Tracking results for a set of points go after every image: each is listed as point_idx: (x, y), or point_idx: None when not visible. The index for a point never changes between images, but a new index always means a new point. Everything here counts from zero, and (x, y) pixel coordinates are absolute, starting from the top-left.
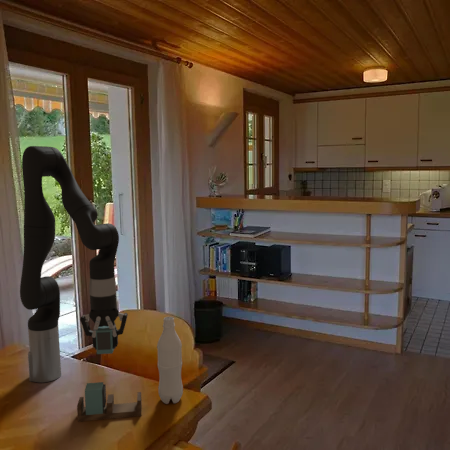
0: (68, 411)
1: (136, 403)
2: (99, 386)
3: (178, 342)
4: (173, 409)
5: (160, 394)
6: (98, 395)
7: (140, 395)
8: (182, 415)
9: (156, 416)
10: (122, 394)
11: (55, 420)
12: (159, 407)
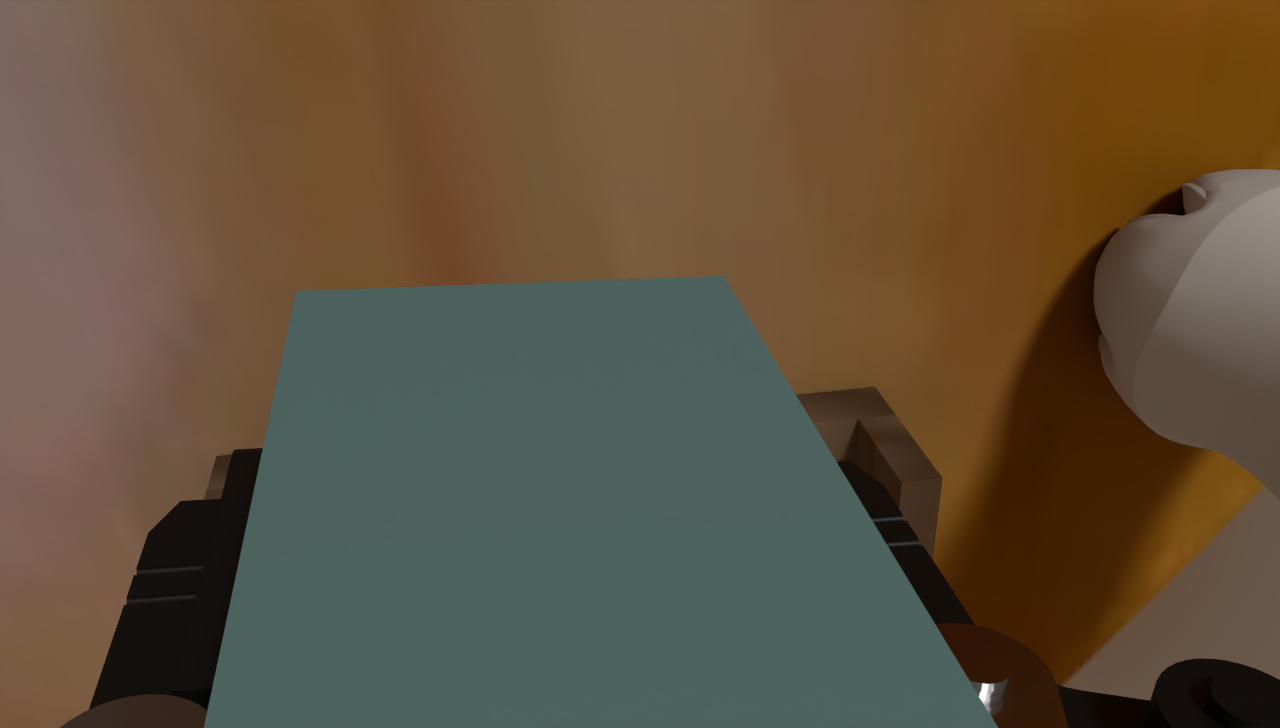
0: (57, 433)
1: (841, 445)
2: None
3: None
4: (1160, 447)
5: (1126, 398)
6: None
7: (927, 551)
8: (1205, 541)
9: (992, 549)
10: (653, 79)
11: None
12: (1043, 406)
